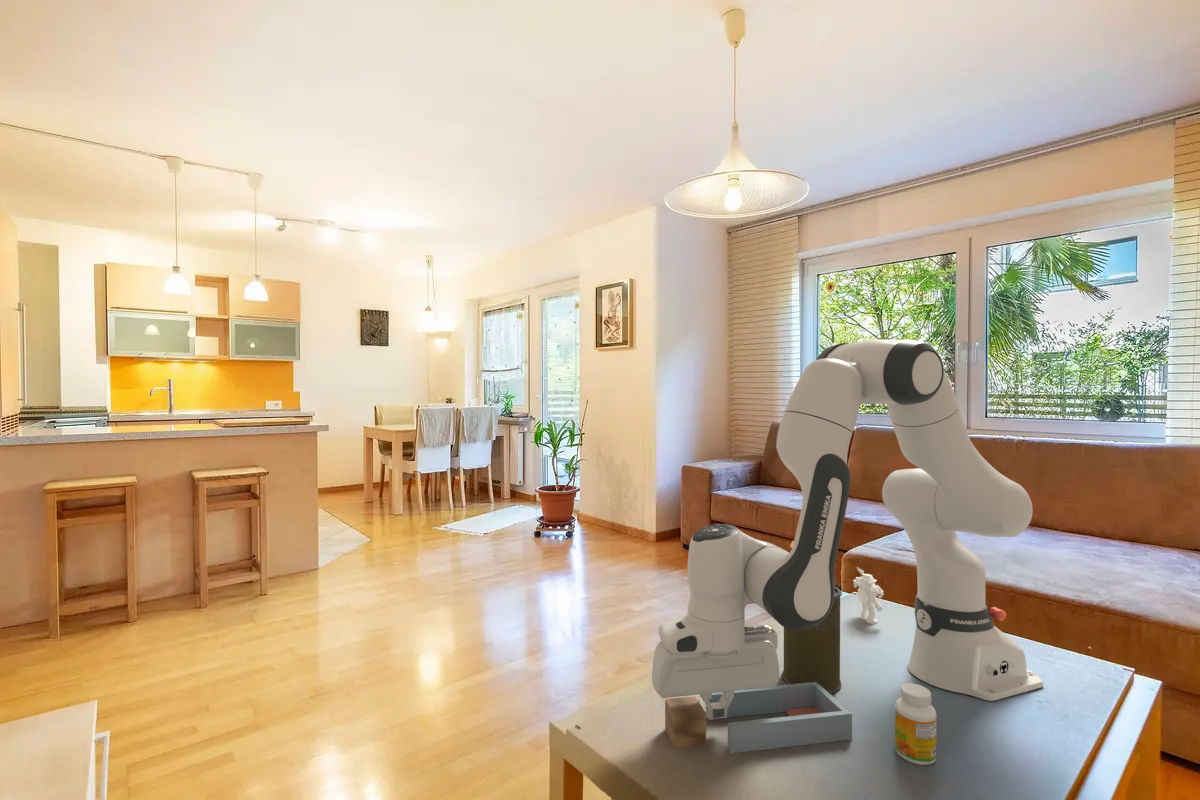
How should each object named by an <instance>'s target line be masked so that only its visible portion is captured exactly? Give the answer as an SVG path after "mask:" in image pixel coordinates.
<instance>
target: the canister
mask: <svg viewBox="0 0 1200 800" xmlns="http://www.w3.org/2000/svg"><path fill="white" fill-rule="evenodd" d="M842 594H843V592H842V590H841V589H840V588H839V585H838V583H835V594H834V602H833V605H832V608H831V610H830V612H829V614H828V615H827V617H826V618H825V619H824V620H823V621H822V622H821V623H819V624H818V625H816V626H815V627H813V628H810V629H808V630H804V631H792V630H789V629H786V628H785V627H783V670H782V672H781V677H782V679H783V681H784V682H785V683H786V685H788V684H799V683H809V682H817V683H818V684H819V685H820V686H822V687H823V688H824V689H825V690H826V691H827V692H828V693H829V694H830V695H832V694H834V693H837V692H839V690H840V689H841V688H842V681H841V597H842Z"/></svg>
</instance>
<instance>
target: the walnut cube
mask: <svg viewBox="0 0 1200 800" xmlns="http://www.w3.org/2000/svg"><path fill="white" fill-rule="evenodd" d="M664 710H665V711H664V715H665V716H664V726H665V727H664V730H665V732H666V734H667V736H668V738H669V741H670V743H671V745H672V747H673V749H674V750H677V749H685V748H688V749H689V748H695V747H705V746H707V717H706V710H705V709H704V708H703V706H702V705H701V703H700V702H699V700H698V698H697V697H696V695H691V696H681V697H670V698H664Z"/></svg>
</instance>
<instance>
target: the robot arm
mask: <svg viewBox="0 0 1200 800" xmlns="http://www.w3.org/2000/svg"><path fill="white" fill-rule="evenodd" d="M805 367H806V368H805V369H804V371H803V372H802V374H801V376H800V377H799V379H798V381H797V383H796V385H795V386H794V389H793V391H792V392H791V394H790V396H789V397H790V398H789V399H788V401H787V405H786V407H785V410H784V413H783V415H782V418H781V420H780V424H779V427H778V429H777V435H776V445H775V448H776V451H777V455H778V456H779V458H780V459H781V462H782V463H783V465H784V466H785V468H787V470H789V472H790V473H792V475H793V476H794V477H795V478H796V481H798V484H799V486H800V488H801V493H802V505H801V509H800V513H799V519H798V521H797V528H796V530H795V531H796V532H795V536H794V540H793V545H792V548H791V550H790V552H789V551H787V550H786V549H784V548H782V547H779V546H777V545H776V544H773V543H771V542H768V541H763V540H760V539H756V538H754V537H752V536H750V535H748V534H746V533H744V532H743V531H742V530H739V528H738V527H736V526H735V525H732V524H727V523H723V524H720V523H719V524H718V523H716V524H711V525H705V526H703V527H701V528H699V529H698V530H696V531H695V532H694V534H692V536H691V539H690V542H689V546H688V554H687V555H688V556H687V573H686V574H687V575H686V576H687V579H686V580H687V586H688V590H689V599H688V602H687V612H686V613H683V614H681V615H679V616H678V617H675V618H672V619H670V620H668V621H665V622H663V623H661V624H660V625H659V626H658V636H659V639H660V641H659V642H658V643H657V644H656V646H655V648H654V653H653V658H652V672H651V682H652V687H653V688H654V690H655V692H656V693H657V694H658V695H659V696H660V697H661V698H662V699H671V698H681V697H690V696H698V695H699V696H700V698H701V699H702V701H703V703H704V705H705V712H706V716H707V717H708V718H707V717H706V718H707V720H708V719H709V721H711V720H719V719H726V718H727V708H728V706H729V705H730V703H731V701H732V699H733V698H734V691H737V690H746V689H755V688H765V687H774V686H777V685H778V683H779V681H780V678H781V677H780V676H781V673H780V665H779V659H778V658H779V657H778V653H777V649H778V645H779V644H778V643H779V640H778V634H777V631H775V629H773V628H772V627H769V626H768V625H765V624H763V625H759V626H746V625H745V622H746V621H745V619H746V618H745V617H746V615H745V608H746V607H747V606H748V605H751V604H752V605H754V604H755V605H757V606H758V607H759V608H761V609H762V610H764V611H766V612H767V614H768V615H769V616H771V617H772V618H773V620H775V621H776V622H777V623H778V624H779V625H780V626H782V627H783V628H784V627H785V628H786V629H789V630H792V631H804V630H808V629H810V628H813V627H815V626H816V625H818V624H819V623H821V622H822V621H823V620H824V619H825V618H826V617H827V615H828V614H829V612H830V610H831V608H832V605H833V602H834V594H835V584H836V583H835V582H836V581H835V577H836V576H835V573H836V561H837V557H838V551H839V547H840V542H841V537H842V532H843V528H844V522H845V519H846V518H845V517H846V512H847V507H848V502H849V494H850V489H851V474H850V473H851V472H850V469H849V466H848V453H849V447H850V442H851V439H852V436H853V433H854V429H855V425H856V423H857V418H858V415H859V410H860V407H861V406H862V404H865V405H876V404H877V405H878V404H879V405H886V408H887V410H888V415H889V417H890V420H891V424H892V426H893V431H894V432H895V436H896V439H897V441H898V446H899V449H900V450H901V453H902V455H903V456H904V458H905V460H907V461H908V462H909V463H911V464H912V465H914V466H915V467H916V468H904V469H896V470H895V471H892V472H891V473H889V475H888V476H887V477H886V479H885V481H884V483H883V485H882V489H881V496H882V501H883V504H884V506H885V508H886V510H887V511H888V512H889V513H890V514H891V515H892V516H893V517H894V518H895V519H897V521H898V522H899V523H900V525H901V526H902V527H903V529H904V531H905V532H906V535H907V536H908V538H909V541H910V543H911V545H912V548H913V550H914V551H913V553H914V556H915V560H916V561H915V562H916V575H917V576H916V577H917V593H916V595H915V598H914V615H915V616H914V617H915V623H916V625H915V631H914V637H913V644H912V648H911V652H910V656H909V660H908V662H907V669H908V670H909V672H910V673H911V674H912V675H913V676H914V677H916V678H918V679H920V680H921V681H923V682H925V683H927V684H928V685H931V686H934V687H937V688H940V689H941V690H946V691H950V692H955V693H959V694H965V695H969V696H972V697H975V698H978V699H981V700H985V701H988V702H989V701H990V702H995V701H998V700H1001V699H1005V698H1008V697H1011V696H1016V695H1019V694H1023V693H1027V692H1030V691H1034V690H1036V689H1040V688H1043V687H1044V684H1043V680H1042V679H1041V678H1040V676H1038V675H1037V674H1036V673H1035V672H1034V671H1032V670H1031V669H1028V668H1027V660H1026V655H1025V653H1024V650H1023V648H1022V647H1021V646H1020V645H1019V644H1018V643H1017V642H1015V641H1014V640H1013V639H1011V637H1009V636H1008V635H1006V633H1004V632H1003V631H1001V630H1000V629H999V628H998V627H997V626H995V623H994V621H993V619H996V620H997V621H1000V622H1003V621H1004V620H1005V619H1006V617H1007V614H1006V612H1005V610H1004V609H1000V608H998V607H996V606H993V607H989V606H988V605H987V604H986V584H987V583H986V582H987V581H986V574H987V573H986V569H985V566H984V564H983V562H982V560H981V559H980V558H979V556H977V555H976V554H975V553H973V552H972V551H970V550H969V549H967V547H965V546H964V544H963V543H962V542H961V540H960V539H959V537H958V535H957V532H959V533H960V532H961V533H966V534H971V535H976V536H981V537H988V538H989V537H991V538H992V537H993V538H995V537H997V538H1007V537H1008V538H1014V537H1017V536H1019V535H1021V533H1023V532H1024V531H1025V530H1026V529H1027V528H1028V527H1029V525H1030V523H1031V521H1032V518H1033V513H1034V512H1033V511H1034V508H1033V504H1032V502H1033V501H1032V499H1031V496H1030V495H1029V494H1028V492H1027V491H1026V489H1025V488H1024V487H1023V486H1022V485H1021V484H1019V483H1017V482H1016V481H1014V480H1012V479H1010V478H1008V477H1007V476H1005V475H1003V474H1002V473H1000V471H998V470H997V469H995V467H993V466H992V465H991V464H990V463H989V462H988V461H987V460H986V458H984V457H983V456H982V454H980V452H979V451H978V449H977V448H976V447H975V446H974V443H973V442H972V440H971V438H970V436H969V433H968V431H967V428H966V425H965V422H964V420H963V417H962V413H961V411H960V407H959V404H958V400H957V397H956V394H955V392H954V389H953V387H952V384H951V382H950V381H949V377H948V376H947V374H946V372H945V369H944V363H943V359H942V357H941V356H940V354H939V353H938V351H937V350H936V349H935V348H934V347H933V346H932V345H931V344H929V343H927V342H924V341H920V340H914V339H903V340H896V339H870V340H866V341H857V342H850V343H849V342H842V343H836V344H834V345H830V346H829V347H826V348H825V349H824V350H822V351H821V353H819V355H818V356H817V358H816V360H814V361H812V362H810V363H809V364H808V365H807V366H805ZM718 692H723V694H722V696H721V698H720V701H719V702H716V703H710V702H709V700H708V699H712V693H718ZM727 719H728V718H727Z"/></svg>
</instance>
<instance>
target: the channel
mask: <svg viewBox="0 0 1200 800" xmlns="http://www.w3.org/2000/svg"><path fill="white" fill-rule="evenodd" d="M722 694H723V692H718V693H712V699H708V700H709V702H710V703H716V702H719V701H720V698H721V696H722ZM775 713H784V714H786V715H787V716H781V717H772V718H762V719H753V720H743V721H742V720H741V721H732V722H727V750H728V752H729V753H730V754H737V753H747V752H755V751H762V750H772V749H780V748H781V749H782V748H788V747H789V748H790V747H798V746H806V745H814V744H815V745H816V744H823V743H824V744H825V743H833V742H839V741H840V742H841V741H848V740H849V741H850V740H853V713H852V712H851V711H850V710H849V709H847V708H846V707H845V706H844V705H843V704H842V703H841V702H840V701H838V700H837V699H836V698H835V697H834V696H833V695H832V694H829V693H828V692H827V691H826V690H825V689H824V688H823V687H822V686H820V685H819V684H818V683H817V682H809V683H799V684H777V685H776V686H774V687H765V688H755V689H746V690H737V691H734V698H733V699H732V701H731V703H730V705H729V706H728V708H727V719H728V718H737V717H745V716H746V717H747V716H755V715H765V714H766V715H767V714H775ZM706 719H707V720H709V719H708V717H707V716H706ZM709 721H710V720H709Z"/></svg>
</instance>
